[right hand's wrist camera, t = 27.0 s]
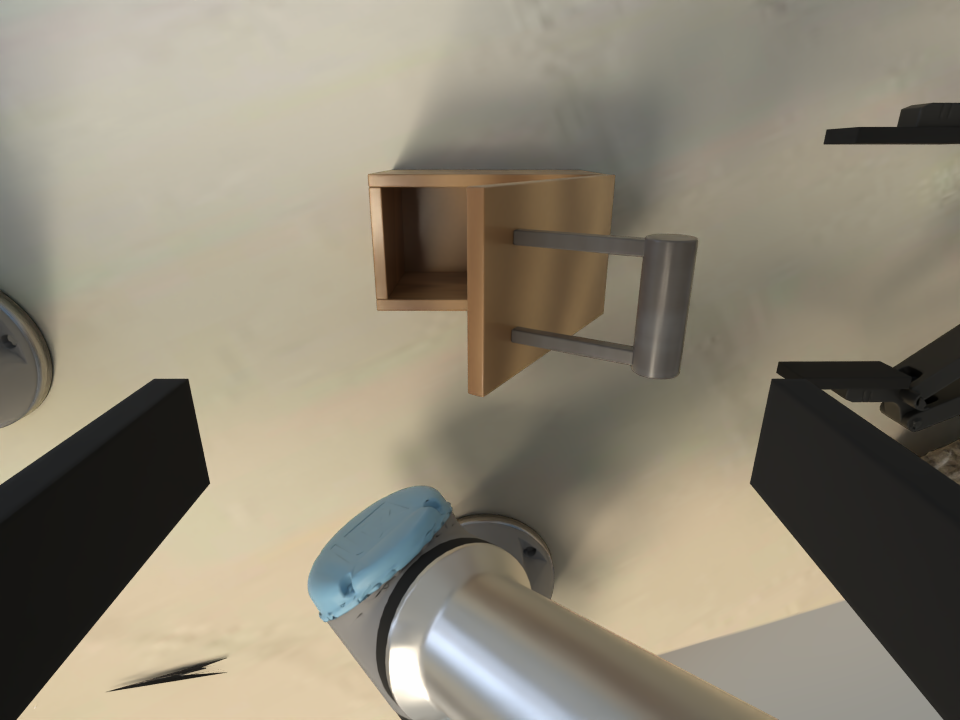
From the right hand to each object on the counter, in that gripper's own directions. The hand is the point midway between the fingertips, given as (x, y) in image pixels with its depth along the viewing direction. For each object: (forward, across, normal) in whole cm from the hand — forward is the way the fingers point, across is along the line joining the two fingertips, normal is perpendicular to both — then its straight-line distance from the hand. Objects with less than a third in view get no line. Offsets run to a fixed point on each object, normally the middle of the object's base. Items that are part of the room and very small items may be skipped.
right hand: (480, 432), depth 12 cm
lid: (+20, -4, 0) cm, 20 cm away
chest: (+38, 0, 0) cm, 38 cm away
